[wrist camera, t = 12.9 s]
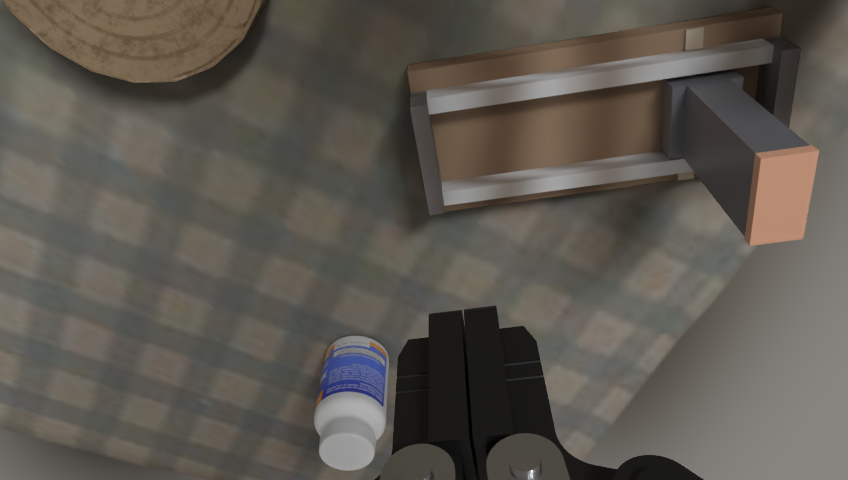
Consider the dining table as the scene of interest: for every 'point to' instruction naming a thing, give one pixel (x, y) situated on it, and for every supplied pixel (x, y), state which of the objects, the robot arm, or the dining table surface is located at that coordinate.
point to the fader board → (580, 108)
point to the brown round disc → (140, 33)
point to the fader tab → (740, 154)
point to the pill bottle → (352, 402)
